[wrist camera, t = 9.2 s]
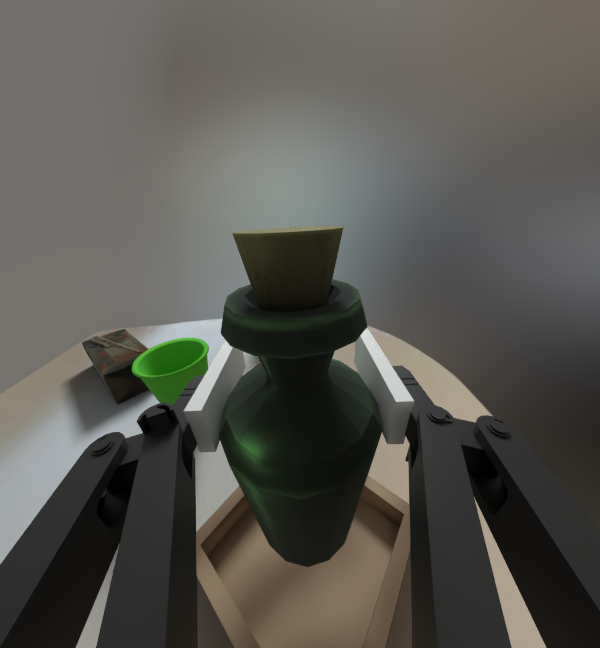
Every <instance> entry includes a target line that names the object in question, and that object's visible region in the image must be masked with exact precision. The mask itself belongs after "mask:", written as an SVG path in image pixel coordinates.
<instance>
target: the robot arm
mask: <svg viewBox="0 0 600 648" xmlns="http://www.w3.org/2000/svg"><path fill="white" fill-rule="evenodd" d="M354 362H355V365H356V367H357V370H358V372H359V375H360V377H361V378H362V380H363V381H364V382H365V384H366V385H367V387H368V388H369V389H370V391H371V393H372V394H373V396H374V398H375V400H376V401H377V403H378V407H379V413H380V419H381V425H382V432H383V435H384V437H385V440H386V442H387V444H403V443H404V439H405V435H406V437H407V439H408V441H409V443H410V446H409V449H408V453H407V457H406V461H408V460H409V503H410V550H411V597H412V644H413V648H511V644H510V640H509V636H508V632H507V628H506V624H505V620H504V616H503V612H502V608H501V604H500V600H499V596H498V592H497V588H496V584H495V580H494V576H493V572H492V568H491V564H490V560H489V556H488V552H487V548H486V544H485V540H484V536H483V532H482V528H481V524H480V520H479V516H478V512H477V508H476V504H475V499H476V501H477V503H478V506H479V508H480V510H481V512H482V514H483V516H484V518H485V520H486V522H487V524H488V526H489V528H490V531H491V533H492V535H493V537H494V539H495V541H496V543H497V545H498V547H499V549H500V551H501V553H502V556H503V558H504V560H505V562H506V564H507V566H508V568H509V570H510V572H511V574H512V576H513V579H514V581H515V583H516V585H517V587H518V589H519V591H520V593H521V595H522V597H523V599H524V601H525V604H526V606H527V608H528V610H529V612H530V614H531V616H532V618H533V620H534V622H535V624H536V627H537V629H538V631H539V633H540V635H541V637H542V639H543V641H544V643H545V645H546V647H547V648H600V531H599V530H598V528H597V527H596V526H595V525H594V524H593V522H592V521H591V520H590V519H589V517H587V515H586V514H585V513H584V511H583V510H582V509H581V508H580V507H579V506H578V504H577V503H576V502H575V501H574V499H573V498H572V497H571V496H570V495H569V493H568V492H567V491H566V490H565V488H564V487H563V486H562V485H561V484H560V482H559V481H558V480H557V479H556V478H555V477H554V475H553V474H552V473H551V472H550V471H549V469H548V468H547V467H546V466H545V464H544V463H543V462H542V461H541V459H540V458H539V457H538V456H537V455H536V453H535V452H534V451H533V450H532V449H531V447H530V446H529V445H528V444H527V443H526V441H525V440H524V439H523V438H522V437H521V435H520V434H519V433H518V432H517V431H516V430H515V429H514V428H513V427H512V426H511V425H509V424H508V423H506V422H505V421H503V420H501V419H498V418H496V417H492V416H488V415H487V416H480V417H479V418H478V419H477V421H476V423H475V422H470V421H465V420H460V419H456V418H453V416H452V415H451V414H450V413H449V412H448V411H446V410H444V409H443V408H441V407H438V406H436V405H434V404H433V402H432V401H431V399H430V398H429V397H428V395H427V394H426V393H425V391H424V390H423V389H422V387H421V386H420V385H419V383H418V382H417V381H416V379H415V378H414V377H413V375H412V374H411V372H410V371H409V370H407V369H406V368H404V367H403V366H391V364H390V363H389V361H388V359H387V358H386V356H385V355H384V353H383V352H382V350H381V349H380V347H379V345H378V344H377V342H376V341H375V339H374V338H373V336H372V335H371V333H370V332H369V330H368V329H365V331H364V332H363V333H362V334H361V336H360V337H359V338H358V339H357V341H356V343H355V356H354ZM244 369H245V361H244V356H243V351H241V350H239V349H236V348H234V347H231V346H230V345H229V344H228V342H227V341H226V340H225V342H224V344H223V345H222V347H221V349H220V350H219V352H218V354H217V355H216V357H215V359H214V360H213V362H212V364H211V366H210V367H209V369H208V371H207V372H206V374H205V375H199V376H195V377H194V378H193V379H192V380H191V381H189V383H188V384H187V386H186V387H185V389H184V390H183V392H182V393H181V395H180V396H179V398H178V399H177V401H176V402H175V404H174V405H171V404H170V403H160V404H157V405H154V406H152V407H150V408H148V409H147V410H145V411H144V412H143V413H142V414H141V415H140V416H139V418H138V420H137V423H138V424H139V426H140V428H141V430H142V432H143V433H142V434H139V435H135V436H132V437H129V438H125V437H124V435H123V434H122V433H120V432H113V433H109V434H106V435H104V436H102V437H100V438H98V439H97V440H96V441H94V442H93V443H92V444H90V445H89V446H88V448H87V449H86V450H85V451H84V452H83V454H82V455H81V456H80V458H79V459H78V460H77V462H76V463H75V464H74V466H73V467H72V468H71V470H70V471H69V472H68V474H67V475H66V477H65V478H64V479H63V481H62V482H61V483H60V485H59V486H58V487H57V489H56V490H55V491H54V493H53V494H52V495H51V497H50V498H49V500H48V501H47V502H46V504H45V505H44V506H43V508H42V509H41V510H40V512H39V513H38V514H37V516H36V517H35V518H34V520H33V521H32V522H31V524H30V525H29V527H28V528H27V529H26V531H25V532H24V533H23V535H22V536H21V537H20V539H19V540H18V541H17V543H16V544H15V545H14V547H13V548H12V550H11V551H10V552H9V554H8V555H7V556H6V558H5V559H4V560H3V562H2V563H1V564H0V648H76V645H77V643H78V640H79V638H80V636H81V633H82V631H83V628H84V626H85V624H86V621H87V619H88V617H89V614H90V612H91V609H92V607H93V605H94V602H95V600H96V597H97V595H98V593H99V590H100V588H101V586H102V583H103V581H104V578H105V576H106V574H107V571H108V569H109V566H110V564H111V562H112V559H113V557H114V555H115V552H116V550H117V547H118V545H119V543H120V545H119V549H118V554H117V558H116V562H115V567H114V571H113V576H112V580H111V585H110V589H109V593H108V598H107V602H106V607H105V611H104V615H103V620H102V624H101V629H100V633H99V638H98V642H97V646H96V648H198V642H197V569H196V496H195V458H194V455H193V452H194V450H195V448H196V445H197V446H198V449H199V451H200V452H216V449H217V446H218V444H219V441H220V438H219V432H220V425H221V419H222V412H223V408H224V406H225V404H226V401H227V399H228V397H229V395H230V393H231V392H232V390H233V389H234V387H235V386H236V384H237V383H238V381H239V380H240V378H241V377H242V375H243V372H244ZM474 497H475V499H474Z"/></svg>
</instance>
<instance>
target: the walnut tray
mask: <svg viewBox="0 0 600 648" xmlns="http://www.w3.org/2000/svg"><path fill="white" fill-rule="evenodd" d="M409 553H410V505H409V504H408V503H407V502H405V501H404V500H402V499H401V498H399V497H398V496H397V495H395V494H394V493H392V492H391V491H389V490H388V489H386V488H385V487H384V486H382V485H381V484H379V483H378V482H376V481H375V480H373V479H372V478H371V477H369V476H367V479H366V482H365V485H364V488H363V491H362V494H361V497H360V500H359V503H358V506H357V509H356V512H355V515H354V518H353V521H352V524H351V527H350V530H349V533H348V536H347V538H346V541H345V544H344V545H343V546H342V547H341V548H340V549H339V550H338V551H337V552H336V553H335V554H334V555H333V557H332V558H331V559H330V560H329V561H325V562H322V563H319V564H316V565H313V566H310V567H305V566H301V565H297V564H294V563H290V562H286V561H285V560H284V559H283V558H282V557H281V556H280V555H279V554H278V553H277V552H276V551H275V550H274V549H273V548H272V547H271V546H270V545H269V544H268V542H267V540H266V538H265V536H264V534H263V532H262V530H261V527H260V525H259V523H258V521H257V519H256V517H255V515H254V513H253V511H252V509H251V507H250V505H249V503H248V501H247V499H246V497H245V495H244V493H243V491H242V489H241V487H240V486H239V487H238V488H237V489H236V490H235V491H234V492H233V493H232V495H231V496H230V497H229V498H228V499H227V500H226V501H225V502H224V503H223V504H222V505H221V506H220V507H219V508H218V510H217V511H216V512H215V513H214V514H213V515H212V516H211V517H210V518H209V519H208V520H207V521H206V522H205V523H204V525H203V526H202V527H201V528H200V529H199V530H198V531H197V532H196V569H197V577H198V579H199V581H200V583H201V585H202V587H203V589H204V591H205V593H206V595H207V597H208V598H209V600H210V602H211V604H212V606H213V608H214V610H215V612H216V614H217V616H218V618H219V619H220V621H221V623H222V625H223V627H224V629H225V631H226V633H227V635H228V637H229V639H230V640H231V642H232V644H233V646H234V648H385V646H386V642H387V638H388V634H389V630H390V626H391V623H392V619H393V615H394V611H395V607H396V603H397V599H398V595H399V591H400V588H401V584H402V580H403V576H404V572H405V568H406V564H407V560H408V556H409Z"/></svg>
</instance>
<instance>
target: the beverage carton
mask: <svg viewBox="0 0 600 648" xmlns="http://www.w3.org/2000/svg"><path fill="white" fill-rule="evenodd" d="M82 344H83V347H84V349H85V351H86V352H87V354H88V356H89V358H90V359H91V361H92V363H93V365H94V366H95V368H96V370H97V372H98V373H99V375H100V377H101V379H102V381H103V382H104V384H105V386H106V388H107V389H108V391H109V393H110V394H111V396H112V397H113V399H114V400H115V401H116V402H117V404H119V403H121V402H123V401H125V400H127V399H129V398H131V397H133V396H135V395H137V394H139V393H141V392H143V391H146V390H148V389H149V388H148V387H147V386H146V384H145V383H144V382H143V381H142V379H141V378H139V377H137V376H135V375H134V374H133V373H132V365H133V363H134V361H135V360H136V359H137V358H138V357H139V356H140V355H141V354H142V353H144V352H145V351H147V350H148V348H146V347H145V346H144V345H143V344H142V343H140V342H139V341H138V340H137V339H136V338H134V337H133V336H132V335H131V334H130V333H128V332H127V331H126V330H125V329H123V330H119V331H116V332H113V333H109V334H106V335H103V336H94V337H92V338H90V340H87V341H84V342H82Z"/></svg>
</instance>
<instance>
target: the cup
mask: <svg viewBox="0 0 600 648" xmlns="http://www.w3.org/2000/svg"><path fill="white" fill-rule="evenodd" d="M208 349H209V347H208V344H207V343H206V342H204V341H203V340H201V339H197V338H181V339H175V340H171V341H167V342H164V343H161V344H159V345H156V346H154V347H152V348H150V349H148V350H147V351H145V352H144V353H142V354H141V355H140V356H139V357H138V358H137V359H136V360H135V361H134V363H133V365H132V373H133V374H134V375H135V376H137V377H139V378H141V379H142V381H143V382H144V383H145V384H146V386H147V387H148V388H149V389H150V391H151V392H152V393H153V395H154V396H155V397H156V398H157V400H158V401H159V402H160V403H170V404H171V405H174V404H175V402H176V401H177V399H178V398H179V396H180V395H181V393H182V392H183V390H184V389H185V387H186V386H187V384H188V383H189V381H191V380H192V379H193V378H194V377H195V376H199V375H205V374H206V372H207V371H208V362H207V353H208Z"/></svg>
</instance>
